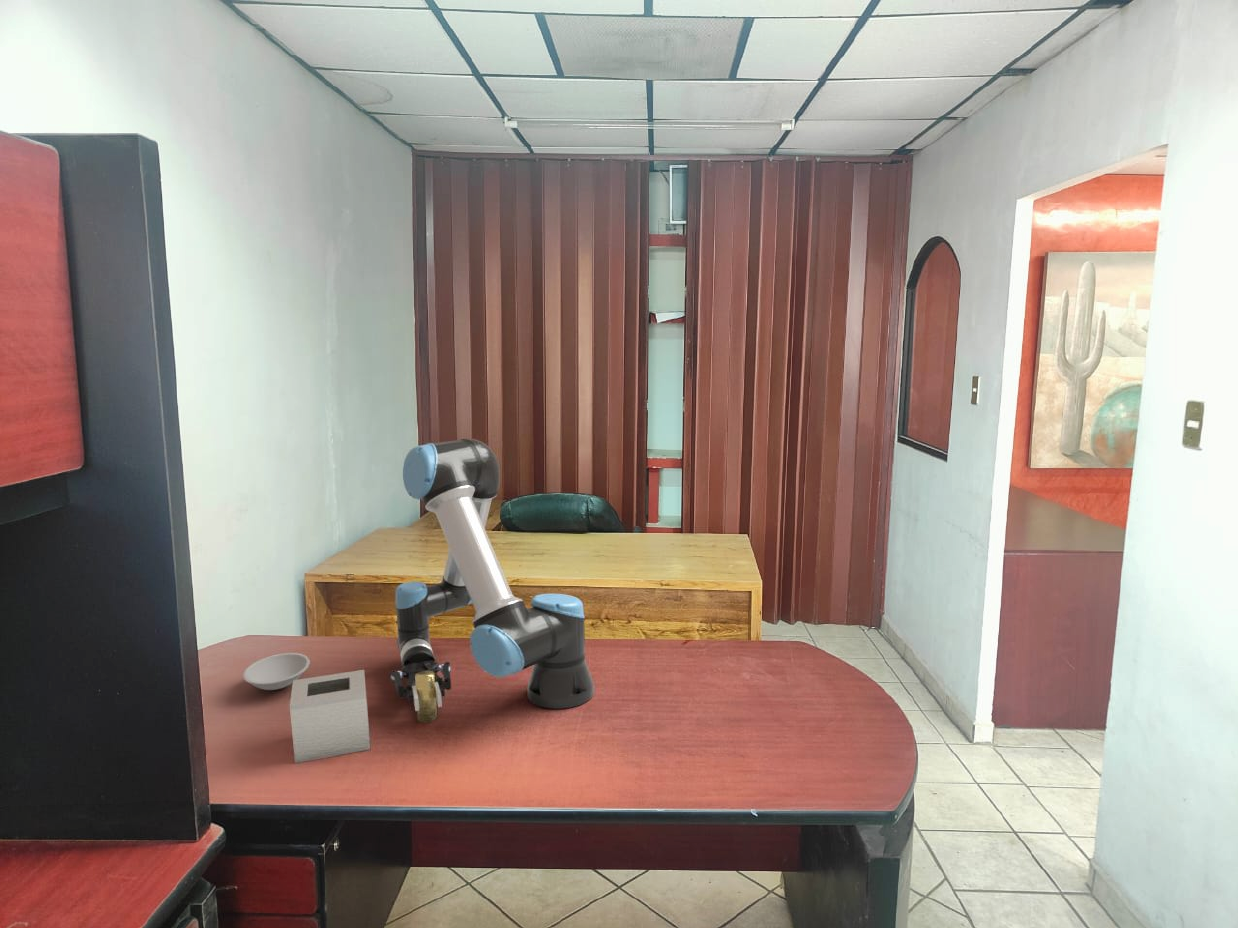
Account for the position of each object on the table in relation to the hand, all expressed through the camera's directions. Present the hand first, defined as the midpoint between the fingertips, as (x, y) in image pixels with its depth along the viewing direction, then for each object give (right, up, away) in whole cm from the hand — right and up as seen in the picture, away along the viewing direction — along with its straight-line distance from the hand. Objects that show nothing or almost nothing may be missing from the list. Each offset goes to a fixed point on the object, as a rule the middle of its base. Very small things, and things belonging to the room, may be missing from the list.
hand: (428, 702), depth 163 cm
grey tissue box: (-19, -7, -3) cm, 20 cm away
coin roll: (-2, -5, +6) cm, 8 cm away
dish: (-41, -4, +23) cm, 47 cm away
